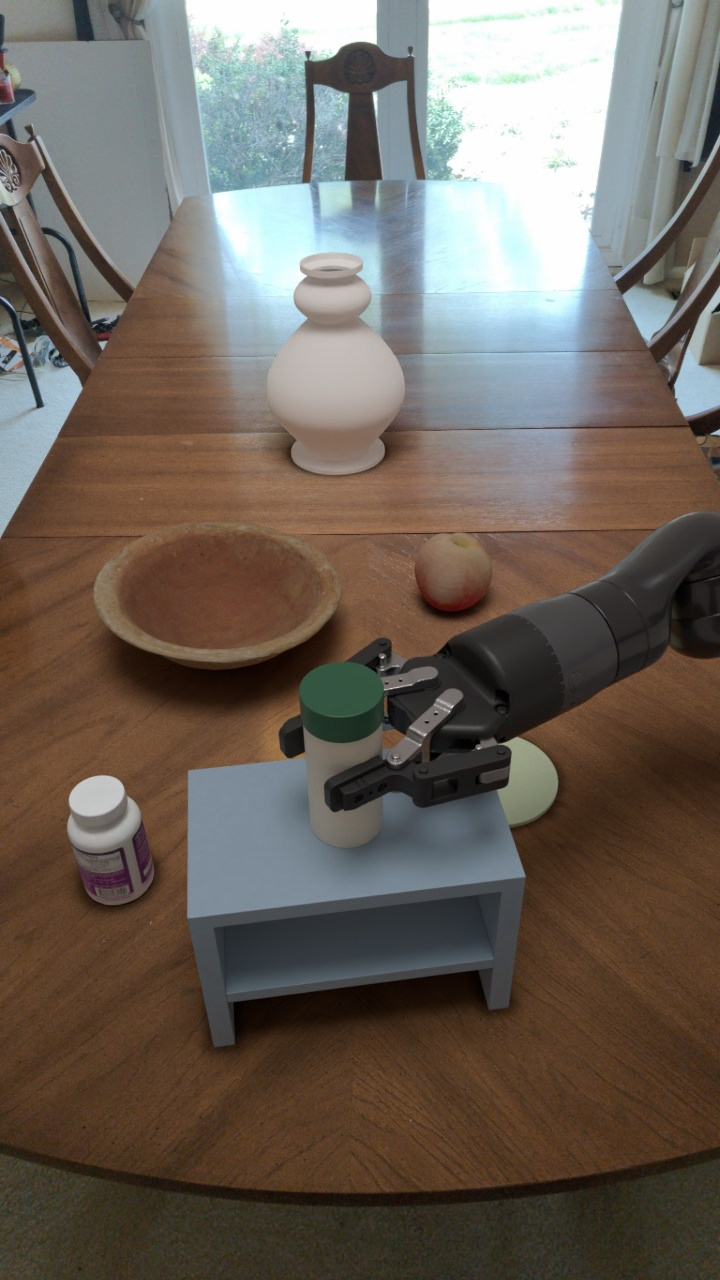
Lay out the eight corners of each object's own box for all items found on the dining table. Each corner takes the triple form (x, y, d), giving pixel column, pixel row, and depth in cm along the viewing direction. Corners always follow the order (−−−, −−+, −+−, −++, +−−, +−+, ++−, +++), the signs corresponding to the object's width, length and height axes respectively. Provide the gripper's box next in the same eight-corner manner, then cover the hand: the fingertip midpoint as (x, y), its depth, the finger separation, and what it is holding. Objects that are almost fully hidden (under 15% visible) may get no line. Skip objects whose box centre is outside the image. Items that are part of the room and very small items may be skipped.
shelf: (508, 1008, 67) (526, 876, 58) (214, 1048, 65) (186, 918, 56) (469, 869, 76) (479, 738, 68) (211, 900, 74) (187, 770, 66)
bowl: (286, 744, 88) (280, 676, 83) (60, 688, 94) (42, 621, 89) (375, 599, 105) (374, 535, 100) (178, 560, 112) (169, 498, 107)
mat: (574, 821, 80) (575, 817, 80) (441, 836, 79) (442, 832, 79) (537, 729, 89) (537, 725, 88) (417, 742, 87) (417, 738, 87)
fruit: (501, 616, 102) (507, 551, 97) (429, 631, 100) (431, 565, 95) (473, 575, 108) (477, 512, 103) (404, 588, 106) (405, 525, 101)
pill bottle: (121, 842, 79) (99, 756, 73) (169, 872, 77) (150, 786, 71) (70, 887, 76) (42, 801, 70) (118, 920, 73) (94, 834, 67)
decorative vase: (380, 494, 123) (379, 292, 107) (250, 474, 127) (231, 278, 112) (420, 433, 136) (423, 246, 121) (300, 417, 141) (289, 235, 125)
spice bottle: (390, 845, 60) (390, 712, 54) (312, 854, 60) (302, 721, 53) (378, 788, 64) (377, 657, 57) (305, 796, 64) (295, 665, 57)
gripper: (598, 771, 62) (371, 894, 55) (460, 654, 71) (252, 745, 64) (615, 681, 57) (369, 802, 50) (465, 568, 67) (241, 656, 60)
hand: (305, 769), depth 57 cm, fingers closed on spice bottle, 4 cm apart
